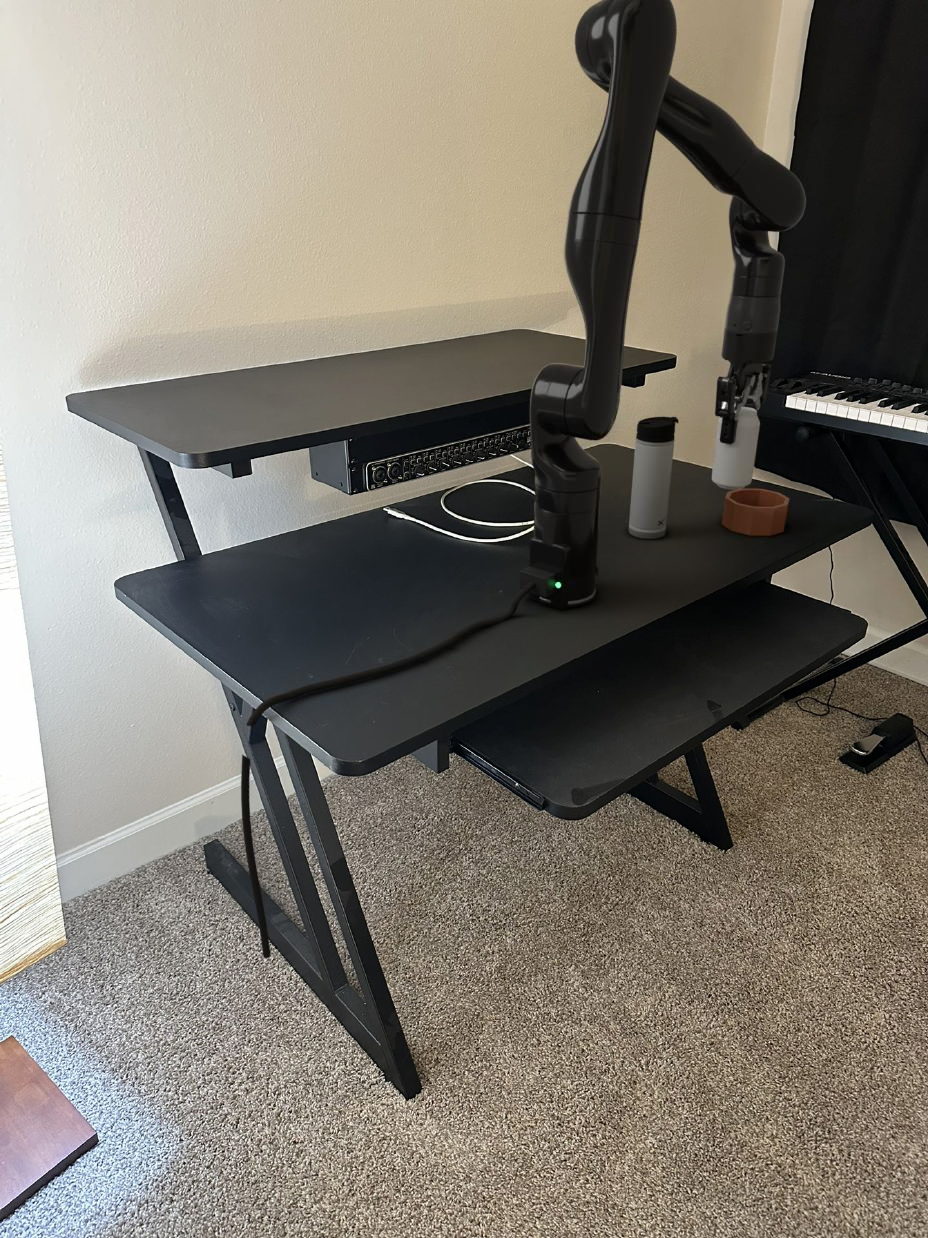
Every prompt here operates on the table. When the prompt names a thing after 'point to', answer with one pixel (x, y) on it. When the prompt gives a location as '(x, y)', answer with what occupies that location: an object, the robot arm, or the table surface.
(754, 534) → the holder
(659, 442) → the travel mug
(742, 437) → the beverage can
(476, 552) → the table surface
